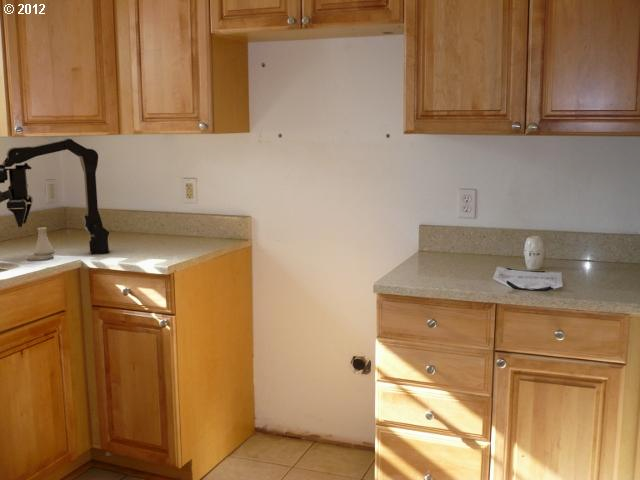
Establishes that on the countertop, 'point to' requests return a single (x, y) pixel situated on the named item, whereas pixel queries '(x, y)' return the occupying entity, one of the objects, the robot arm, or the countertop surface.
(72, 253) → the countertop surface
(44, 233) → the flask
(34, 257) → the slate coaster
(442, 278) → the countertop surface
